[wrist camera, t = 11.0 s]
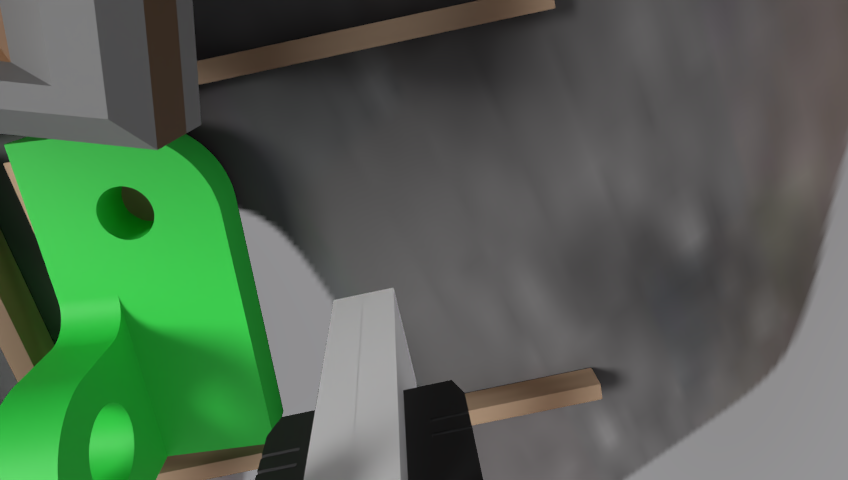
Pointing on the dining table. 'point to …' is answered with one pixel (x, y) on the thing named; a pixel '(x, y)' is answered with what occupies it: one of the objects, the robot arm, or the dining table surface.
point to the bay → (8, 293)
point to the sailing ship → (99, 71)
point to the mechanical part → (137, 316)
